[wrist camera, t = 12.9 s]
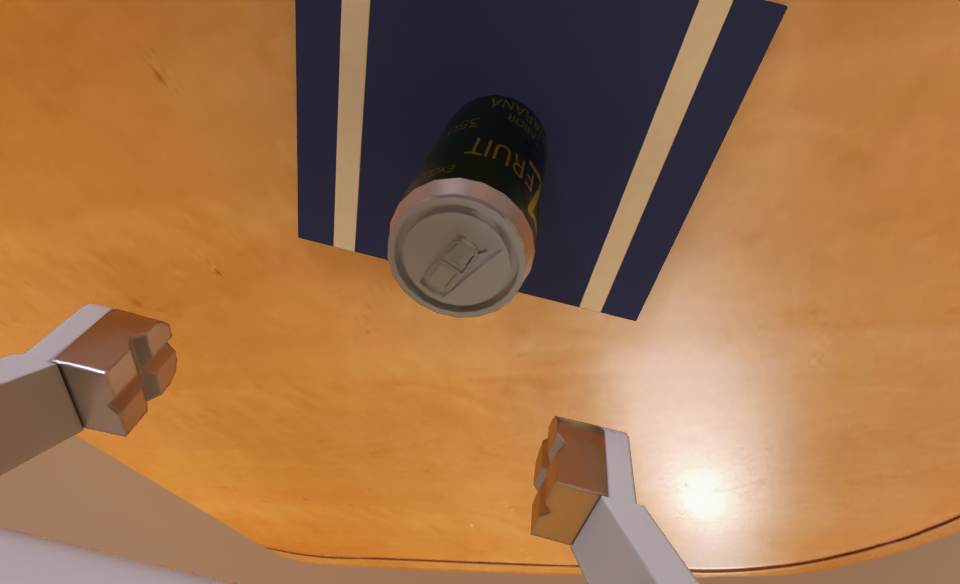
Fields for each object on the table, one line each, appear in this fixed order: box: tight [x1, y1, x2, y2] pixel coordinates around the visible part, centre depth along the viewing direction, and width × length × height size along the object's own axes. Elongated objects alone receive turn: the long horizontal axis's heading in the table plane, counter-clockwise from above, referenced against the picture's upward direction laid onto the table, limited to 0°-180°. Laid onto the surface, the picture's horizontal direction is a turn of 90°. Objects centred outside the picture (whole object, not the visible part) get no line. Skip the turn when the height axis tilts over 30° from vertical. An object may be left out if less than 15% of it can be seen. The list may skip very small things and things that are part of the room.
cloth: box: [296, 0, 787, 321], centre depth 28 cm, size 22×18×1 cm
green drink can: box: [387, 95, 547, 318], centre depth 23 cm, size 5×5×12 cm
